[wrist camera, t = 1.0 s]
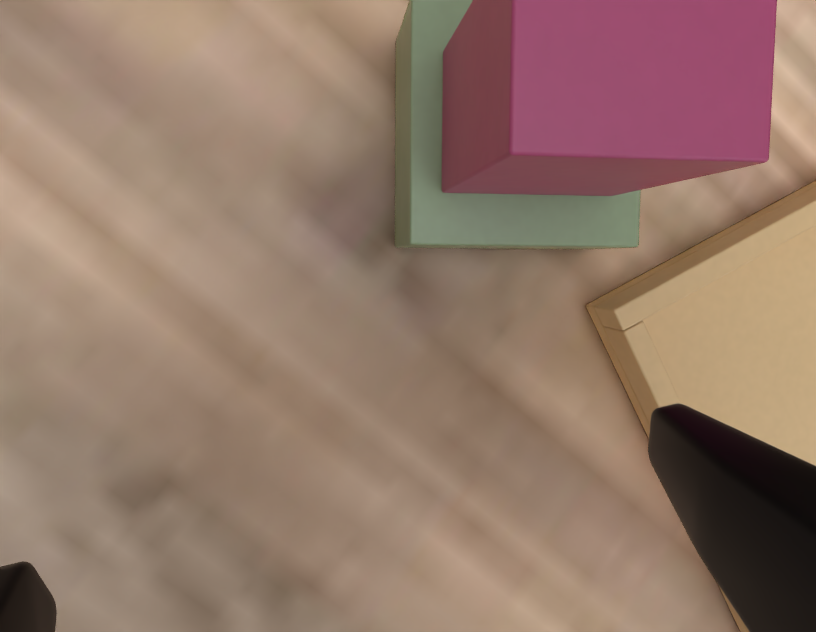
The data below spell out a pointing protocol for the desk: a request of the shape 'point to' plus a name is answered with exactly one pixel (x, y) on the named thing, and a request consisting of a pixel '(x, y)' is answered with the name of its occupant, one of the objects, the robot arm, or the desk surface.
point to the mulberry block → (604, 94)
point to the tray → (727, 330)
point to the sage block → (472, 212)
